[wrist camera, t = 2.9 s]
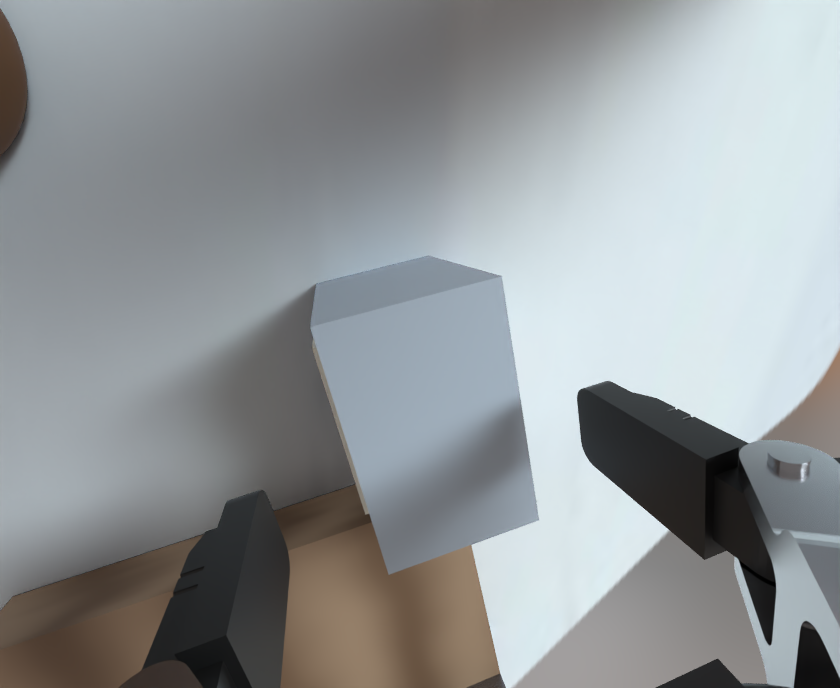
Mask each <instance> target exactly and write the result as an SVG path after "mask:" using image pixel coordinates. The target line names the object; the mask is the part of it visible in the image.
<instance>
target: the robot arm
mask: <svg viewBox="0 0 840 688" xmlns="http://www.w3.org/2000/svg"><path fill="white" fill-rule="evenodd" d="M577 402H578V413H579V423H580V433H581V442H582V447H583V450H584V452H585V454H586V456H587V458H588V459H589V461H590V462H591V463H592V465H594V466H595V467H596V468H597V469H598V470H599V471H600V472H602V473H603V474H604V475H605V476H606V477H608V478H609V479H610V480H611V481H612V482H613V483H615V484H616V485H617V486H618V487H619V488H621V489H622V490H623V491H624V492H625V493H626V494H628V495H629V496H630V497H631V498H632V499H633V500H635V501H636V502H637V503H638V504H639V505H641V506H642V507H643V508H644V509H645V510H646V511H648V512H649V513H650V514H651V515H652V516H653V517H655V518H656V519H657V520H658V521H659V522H661V523H662V524H663V525H664V526H665V527H666V528H668V529H669V530H670V531H671V532H672V533H674V534H675V535H676V536H677V537H678V538H680V539H681V540H682V541H683V542H684V543H685V544H686V545H688V546H689V547H690V548H691V549H692V550H694V551H695V552H696V553H697V554H698V555H699V556H701V557H702V558H703V559H704V560H705V559H708V558H710V557H712V556H715V555H717V554H719V553H722V552H724V551H728V552H730V553H731V554H732V555H733V556H735V565H734V568H735V573H736V576H737V579H738V583H739V586H740V589H741V592H742V595H743V598H744V601H745V604H746V608H747V611H748V614H749V617H750V620H751V623H752V627H753V630H754V633H755V636H756V639H757V643H758V646H759V649H760V652H761V655H762V658H763V662H764V667H765V671H766V677H767V684H752V683H744V684H741V683H740V682H739V681H738V680H737V679H736V678H735V676H734V675H733V674H732V673H731V672H730V671H729V670H728V669H727V668H726V667H725V666H724V665H723V664H722V663H721V661H720V660H719V659H716V660H714V661H711V662H710V663H707V664H705V665H703V666H701V667H699V668H697V669H694V670H692V671H690V672H688V673H686V674H684V675H682V676H680V677H677V678H675V679H673V680H671V681H669V682H667V683H665V684H663V685H660V686H658V687H656V688H840V458H832V457H831V456H829V455H827V454H826V453H824V452H822V451H820V450H817V449H815V448H812V447H809V446H806V445H802V444H798V443H794V442H788V441H780V440H763V441H756V442H752V443H747V442H745V441H743V440H741V439H738V438H736V437H734V436H732V435H730V434H728V433H726V432H724V431H722V430H720V429H718V428H716V427H714V426H712V425H710V424H708V423H706V422H704V421H702V420H700V419H698V418H696V417H691V416H690V414H688V413H686V412H684V411H681V410H679V409H677V410H676V409H675V407H673V406H671V405H669V404H667V403H665V402H663V401H661V400H659V399H657V398H654V397H649V396H645V395H641V394H637V393H632V392H630V391H628V390H626V389H624V388H622V387H620V386H618V385H616V384H615V383H613V382H610V381H605V382H602V383H599V384H596V385H593V386H590V387H587V388H583V389H581V390H580V391H579V392H578V395H577ZM180 576H181V578H179V579H178V581H177V583H176V586H175V588H174V591H173V597H171V598H170V601H169V603H168V606H167V608H166V611H165V613H164V616H163V618H162V621H161V623H160V625H159V628H158V630H157V633H156V635H155V638H154V640H153V643H152V645H151V648H150V650H149V653H148V655H147V658H146V660H145V663H144V665H143V668H142V670H141V671H140V672H138V673H137V674H135V675H134V676H132V677H131V678H129V679H128V680H127V681H126V682H124V683H123V684H122V685H121V686H120V687H118V688H280V686H281V674H282V662H283V650H284V638H285V626H286V614H287V602H288V590H289V578H290V561H289V554H288V549H287V546H286V542H285V540H284V537H283V535H282V532H281V529H280V527H279V524H278V522H277V519H276V517H275V514H274V512H273V509H272V506H271V504H270V501H269V499H268V497H267V495H266V493H265V492H264V491H263V490H260V491H256V492H253V493H250V494H247V495H244V496H241V497H238V498H234V499H231V500H228V501H227V502H226V504H225V507H224V510H223V513H222V516H221V519H220V522H219V525H218V528H216V529H213V530H210V531H207V532H205V534H204V535H203V536H202V537H201V539H200V540H199V541H198V542H197V543H196V545H195V546H194V547H193V548H192V550H191V551H190V552H189V554H188V556H187V559H186V561H185V564H184V566H183V569H182V571H181V573H180Z"/></svg>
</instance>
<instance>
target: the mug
mask: <svg viewBox="0 0 840 688" xmlns="http://www.w3.org/2000/svg"><path fill="white" fill-rule="evenodd" d="M26 106H27V78H26V71H25V66H24V61H23V57H22V54H21V51H20V48H19V45H18V42H17V39H16V37H15V35H14V33H13V31H12V28H11V26H10V24H9V22H8V20H7V19H6V17H5V15H4V14H3V12H2V10H1V9H0V156H1V155H2V154H3V153H4V152H5V151H6V150H7V149H8V148H9V146H10V145H11V143H12V142H13V140H14V139H15V137H16V136H17V134H18V132H19V129H20V127H21V124H22V122H23V119H24V115H25V111H26Z"/></svg>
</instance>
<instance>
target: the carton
mask: <svg viewBox="0 0 840 688" xmlns="http://www.w3.org/2000/svg"><path fill="white" fill-rule="evenodd" d="M310 329H311V332H312V335H313V344H312V350H313V354H314V357H315V360H316V363H317V366H318V369H319V372H320V375H321V378H322V381H323V385H324V388H325V391H326V394H327V397H328V400H329V403H330V406H331V409H332V413H333V416H334V419H335V422H336V425H337V428H338V431H339V434H340V437H341V440H342V444H343V447H344V450H345V453H346V456H347V459H348V462H349V465H350V468H351V472H352V475H353V478H354V481H355V484H356V487H357V490H358V493H359V496H360V499H361V503H362V506H363V509H364V512H365V515H366V514H370V517H371V521H372V524H373V527H374V530H375V533H376V536H377V539H378V543H379V546H380V549H381V552H382V555H383V558H384V561H385V565H386V568H387V571H388V574H389V575H390V574H392V573H395V572H398V571H401V570H403V569H406V568H409V567H412V566H414V565H417V564H420V563H423V562H425V561H428V560H431V559H433V558H436V557H439V556H442V555H444V554H447V553H450V552H453V551H455V550H458V549H461V548H464V547H466V546H469V545H472V544H475V543H477V542H480V541H483V540H486V539H488V538H491V537H494V536H497V535H499V534H502V533H505V532H508V531H510V530H513V529H516V528H518V527H521V526H524V525H527V524H529V523H532V522H535V521H538V520H539V517H538V511H537V504H536V498H535V491H534V484H533V478H532V471H531V465H530V458H529V452H528V445H527V439H526V432H525V426H524V419H523V413H522V406H521V400H520V393H519V386H518V380H517V373H516V367H515V360H514V354H513V347H512V341H511V334H510V328H509V321H508V315H507V308H506V302H505V295H504V288H503V282H502V276H499V275H495V274H492V273H488V272H485V271H481V270H478V269H474V268H470V267H467V266H463V265H460V264H456V263H453V262H449V261H445V260H442V259H438V258H435V257H431V256H425V257H421V258H417V259H413V260H409V261H405V262H401V263H397V264H393V265H389V266H385V267H381V268H377V269H373V270H369V271H365V272H361V273H357V274H353V275H349V276H345V277H341V278H337V279H333V280H329V281H325V282H321V283H317V284H316V289H315V296H314V303H313V310H312V317H311V323H310Z"/></svg>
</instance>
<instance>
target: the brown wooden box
mask: <svg viewBox="0 0 840 688" xmlns="http://www.w3.org/2000/svg"><path fill="white" fill-rule="evenodd" d="M273 512H274V514H275V517H276V519H277V522H278V524H279V527H280V529H281V532H282V535H283V537H284V540H285V542H286V546H287V549H288V554H289V561H290V578H289V590H288V602H287V614H286V626H285V638H284V650H283V662H282V674H281V686H280V688H506V687H505V685H504V682H503V680H502V677H501V674H500V671H499V666H498V662H497V658H496V653H495V649H494V644H493V640H492V635H491V631H490V627H489V622H488V618H487V613H486V609H485V604H484V600H483V596H482V591H481V587H480V582H479V578H478V573H477V569H476V565H475V560H474V556H473V551H472V547H471V545H469V546H466V547H464V548H461V549H458V550H455V551H453V552H450V553H447V554H444V555H442V556H439V557H436V558H433V559H431V560H428V561H425V562H423V563H420V564H417V565H414V566H412V567H409V568H406V569H403V570H401V571H398V572H395V573H392V574H390V575H389V574H388V571H387V568H386V565H385V561H384V558H383V555H382V552H381V549H380V546H379V543H378V539H377V536H376V533H375V530H374V527H373V524H372V521H371V517H370V514H366V515H365V512H364V509H363V506H362V503H361V499H360V496H359V493H358V490H357V487H356V484H355V485H352V486H349V487H346V488H343V489H340V490H337V491H334V492H331V493H328V494H325V495H322V496H319V497H316V498H313V499H310V500H307V501H304V502H300V503H297V504H294V505H291V506H288V507H285V508H282V509H279V510H276V511H273ZM203 535H204V534H203ZM203 535H200V536H197V537H194V538H191V539H188V540H184V541H181V542H178V543H175V544H172V545H169V546H166V547H163V548H160V549H157V550H154V551H151V552H148V553H145V554H142V555H139V556H136V557H133V558H130V559H126V560H123V561H120V562H117V563H114V564H111V565H108V566H105V567H102V568H99V569H96V570H93V571H90V572H87V573H84V574H81V575H78V576H75V577H72V578H68V579H65V580H62V581H59V582H56V583H53V584H50V585H47V586H44V587H41V588H38V589H35V590H32V591H29V592H26V593H23V594H20V595H17V596H14V597H12V598H11V599H10V601H9V602H8V603H7V604H6V605H5V606H4V608H3V609H2V610H1V611H0V688H118V687H120V686H121V685H122V684H123V683H124V682H126V681H127V680H128V679H129V678H131V677H132V676H134V675H135V674H137V673H138V672H140V671H141V670H142V668H143V665H144V663H145V660H146V658H147V655H148V653H149V650H150V648H151V645H152V643H153V640H154V638H155V635H156V633H157V630H158V628H159V625H160V623H161V621H162V618H163V616H164V613H165V611H166V608H167V606H168V603H169V601H170V598H171V597H173V591H174V588H175V586H176V583H177V581H178V579H179V578H181V576H180V573H181V571H182V569H183V566H184V564H185V561H186V559H187V556H188V554H189V552H190V551H191V550H192V548H193V547H194V546H195V545H196V543H197V542H198V541H199V540H200V539H201V537H202V536H203Z"/></svg>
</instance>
